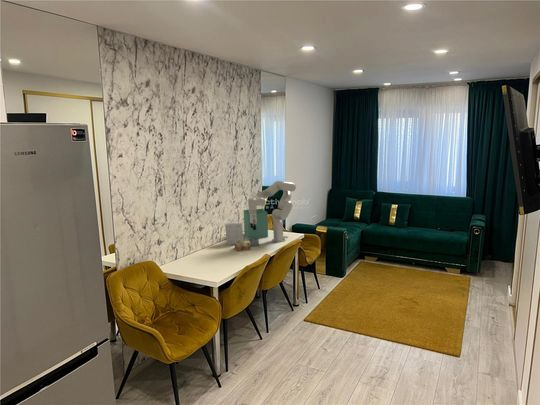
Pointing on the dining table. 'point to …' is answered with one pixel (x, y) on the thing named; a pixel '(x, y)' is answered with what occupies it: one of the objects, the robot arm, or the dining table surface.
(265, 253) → the dining table surface
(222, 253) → the dining table surface
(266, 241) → the dining table surface
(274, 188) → the robot arm
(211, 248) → the dining table surface
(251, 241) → the block
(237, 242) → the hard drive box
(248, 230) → the box
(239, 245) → the tray
